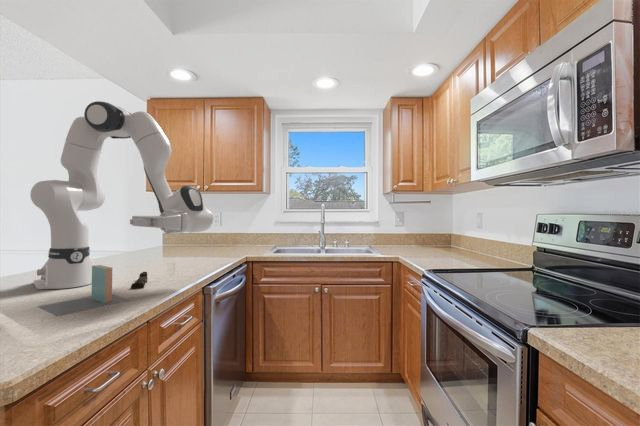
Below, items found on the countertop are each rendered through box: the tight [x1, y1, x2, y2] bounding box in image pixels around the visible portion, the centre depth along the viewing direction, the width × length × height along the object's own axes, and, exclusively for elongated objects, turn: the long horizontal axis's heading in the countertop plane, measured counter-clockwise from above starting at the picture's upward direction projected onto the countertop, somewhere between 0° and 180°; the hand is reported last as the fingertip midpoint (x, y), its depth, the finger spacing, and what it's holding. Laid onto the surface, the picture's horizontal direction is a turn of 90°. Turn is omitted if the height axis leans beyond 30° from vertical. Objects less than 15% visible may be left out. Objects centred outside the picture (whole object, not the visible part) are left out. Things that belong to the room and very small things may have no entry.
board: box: [37, 293, 130, 317], centre depth 92 cm, size 14×18×2 cm
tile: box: [91, 264, 113, 303], centre depth 95 cm, size 8×2×10 cm, turn 58°
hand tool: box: [130, 271, 148, 290], centre depth 118 cm, size 19×4×5 cm, turn 19°
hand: (132, 222), depth 101 cm, fingers closed
